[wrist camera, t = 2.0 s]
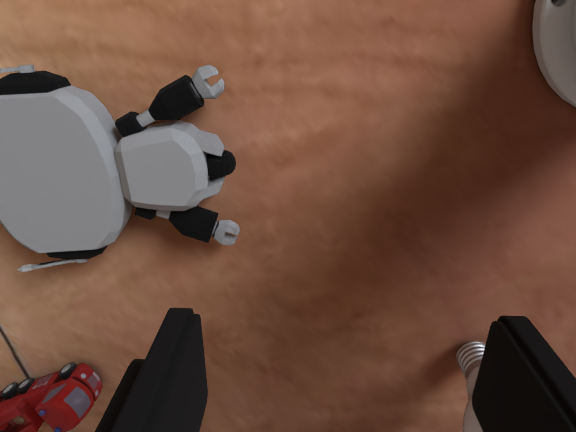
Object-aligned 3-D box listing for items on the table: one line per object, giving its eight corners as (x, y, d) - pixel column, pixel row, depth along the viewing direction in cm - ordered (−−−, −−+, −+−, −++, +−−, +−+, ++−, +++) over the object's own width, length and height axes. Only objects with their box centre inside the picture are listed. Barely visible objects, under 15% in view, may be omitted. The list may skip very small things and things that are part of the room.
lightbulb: (431, 382, 35) (486, 525, 25) (428, 323, 32) (487, 455, 22) (509, 373, 34) (597, 516, 24) (512, 311, 31) (611, 443, 21)
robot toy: (228, 52, 25) (-21, 65, 25) (221, 56, 21) (-78, 72, 20) (246, 231, 30) (40, 244, 30) (243, 263, 26) (3, 279, 26)
